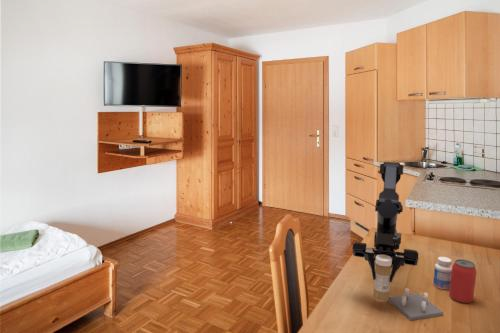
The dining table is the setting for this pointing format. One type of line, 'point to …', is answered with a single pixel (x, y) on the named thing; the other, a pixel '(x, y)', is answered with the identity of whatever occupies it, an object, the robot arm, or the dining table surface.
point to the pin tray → (415, 305)
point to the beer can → (462, 281)
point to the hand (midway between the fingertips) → (382, 280)
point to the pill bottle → (443, 273)
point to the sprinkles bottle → (382, 278)
